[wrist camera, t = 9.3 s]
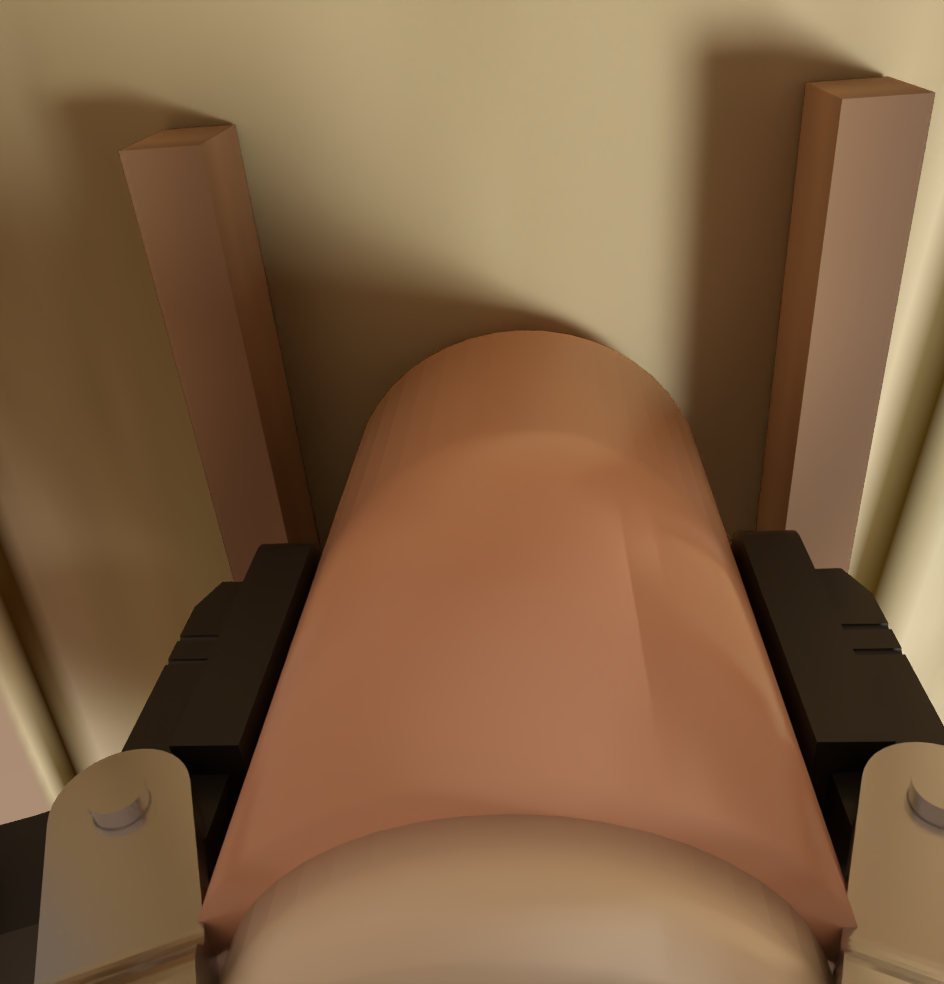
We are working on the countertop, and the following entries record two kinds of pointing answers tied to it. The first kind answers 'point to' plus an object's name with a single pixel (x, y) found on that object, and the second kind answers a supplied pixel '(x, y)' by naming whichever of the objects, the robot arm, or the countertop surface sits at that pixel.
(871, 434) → the lane
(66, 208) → the countertop surface
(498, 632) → the terracotta jar
